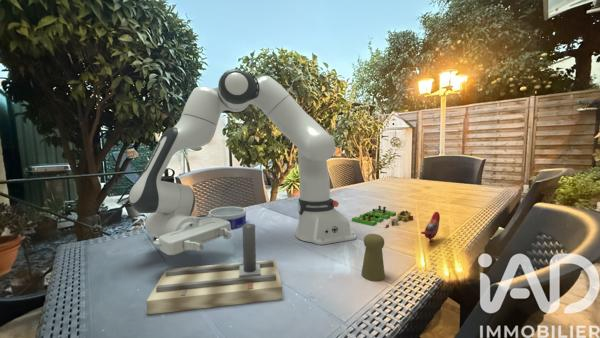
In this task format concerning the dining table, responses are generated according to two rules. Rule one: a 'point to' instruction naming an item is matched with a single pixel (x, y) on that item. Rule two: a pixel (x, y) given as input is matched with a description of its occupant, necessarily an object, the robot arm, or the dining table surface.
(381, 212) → the toy garden set
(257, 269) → the fader knob
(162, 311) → the fader board
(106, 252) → the dining table surface
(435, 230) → the decorative bird figurine
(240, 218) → the dog bowl
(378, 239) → the olive green pawn
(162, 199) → the robot arm
